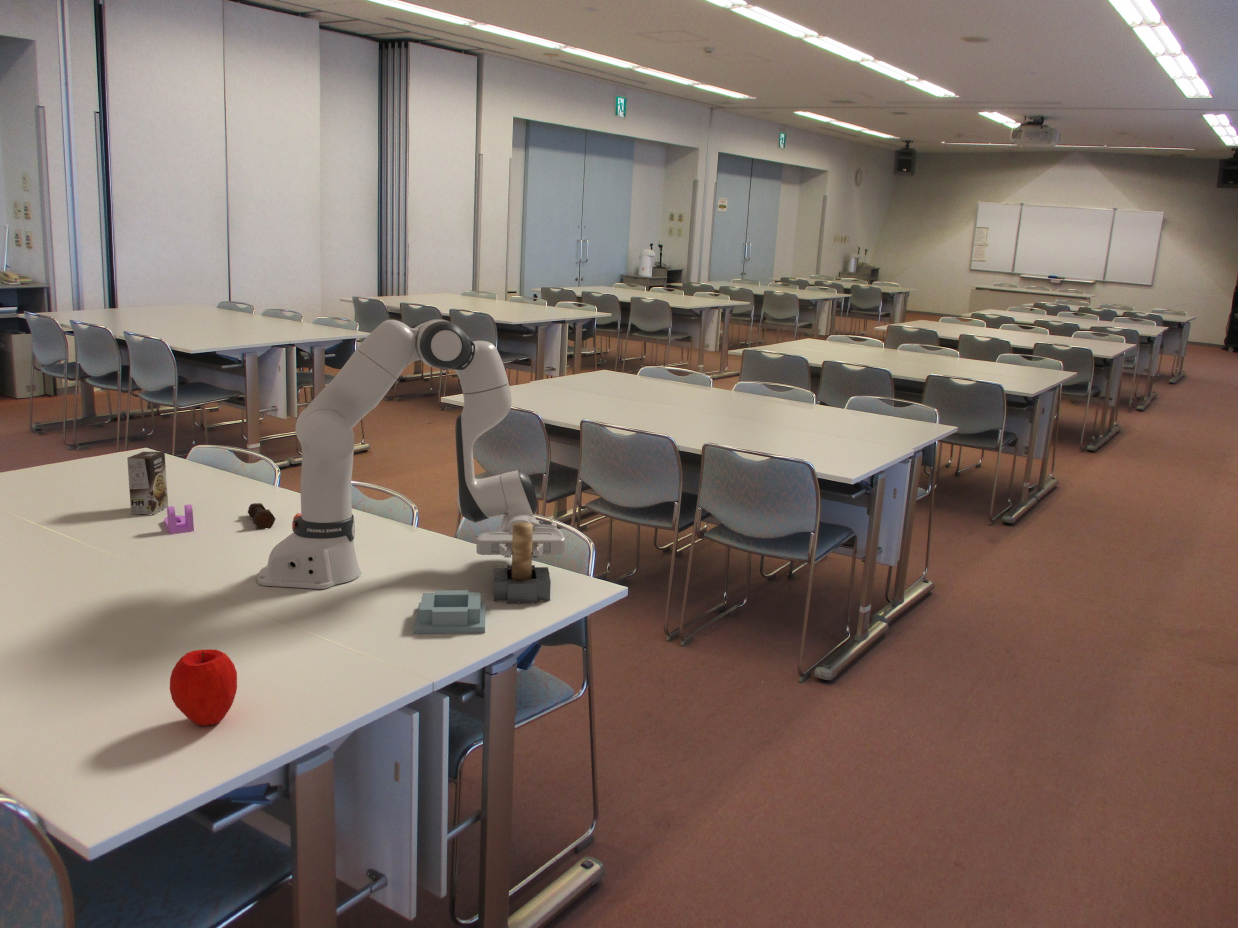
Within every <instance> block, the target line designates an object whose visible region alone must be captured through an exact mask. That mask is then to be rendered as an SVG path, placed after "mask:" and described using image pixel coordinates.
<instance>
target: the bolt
mask: <svg viewBox="0 0 1238 928" xmlns="http://www.w3.org/2000/svg"><path fill="white" fill-rule="evenodd" d="M247 515H249V517H250V518H251V520H252V522H253V524H254V525H255V526H256V528H257V529H258V530H266V529H265V528H269V529H271V528H272V527H273V525H274V524H275V521H276V517H275V516H274V514H273V513H272V512H271V510H270V509H266V507H265V506H264V505H263V504H262V502H261V503H258V502H257V503H256V502H255V503H250V504H249V506H248V510H247Z"/></svg>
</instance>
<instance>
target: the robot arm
mask: <svg viewBox="0 0 1238 928" xmlns="http://www.w3.org/2000/svg"><path fill="white" fill-rule="evenodd" d="M416 361H417V362H418V361H419V362H422V363H423V364H425V365H426V366H429V367H431V368H436V369H439V370H454V372H455V373H456V375H457V377H458V379H459V381H460V386H461V390H462V395H463V407H462V411H461V414H459V415H458V416H457V417H456V420H455V430H454V431H455V451H456V453H455V454H456V463H457V464H456V466H457V481H458V488H457V497H456V498H457V507H458V510H459V513H460V514H461V516H462V517H463V518H464V519H466V520H468V521H470V522H473V523H479V522H482V521H486V520H487V519H490V518H494V517H497V516H499V517H500V516H502V517H501V519H500V520H501V521H500V530H499V531H497V530H496V531H494V530H493V531H491V530H489V531H481V532H480V533H479V534H477V535H476V536H475V537H474V538H475V540H474V541H475V544H476V547H475V548H476V550H475V551H476V554H478V555H481V556H485V555H486V556H488V555H489V556H491V555H493V556H494V555H495V556H496V555H497V556H500V555H501V556H504V558H512V537H513V524H514V523H518V522H526V523H531V524H532V525H533V534H532V558H540V556H541V555H563V554H565V553H566V537H565V535H564V533H563V532H562V530H560V529H559V528H558V526H557V525H558V524H557V523H555V522H550V521H543V520H539V519H536V516H535V514H536V512H537V510H538V507H539V505H538V499H537V494H536V489H535V486H534V483H533V481H532V479H531V477H530V476H529V475H527V473H526V472H523V471H522V470H520V469H517V470H513V471H508V472H504V473H500V474H496V475H493V476H488V477H483V478H476V477H475V464H474V444H475V442H476V441H477V439H479V438H480V437H481V436H482V435H483V434H485V433H487V432H488V431H489V430H491V429H492V428H494V427H496V426H497V425H499V423H501V422H502V421H503V420H504V419H505V418H506V417H507V416H508V414H509V413H510V410H511V408H512V405H513V402H512V393H511V392H512V391H511V387H510V383H509V379H508V375H507V371H506V367H505V365H504V363H503V360H502V358H501V355H500V352H499V351H498V349H497V347H496V346H495V344H493V343H491V342H490V341H487V340H486V341H485V340H475V341H473V340H472V339H471V338H470V337H469V336H468V335H467V334H466V332H465V331H464V330H463V329H462V327H460V326H458V325H457V324H455V323H454V322H451V321H449V320H446V319H441V318H435V319H428V320H424V321H422V322H420V323H417V324H415V325H413V326H408V325H407V324H406V323H404V322H402V321H400V320H396V319H387V320H384V321H382V322H381V323H380V324H379V325H377V327H375V328H373V330H372V331H371V332H370V333H369V334H368V335H367V336H366V338H365V339H364V340H362V342H361V343H360V344H359V346H357V348H356V349H355V351H354V352H353V353H352V354H351V356H350V357H349V358H348V360H347V361H346V362H345V363H344V365H343V367H341V369H340V370H339V372H337V374H336V376H335V377H334V378H333V379H331V381H330V382H329V383H328V384H327V385H325V387H324V388H323V389H322V390H321V391H320V392H319V393H318V394H317V395H316V396H315V397H314V398H313V399H312V400H311V401H310V403H309V404H308V405H306V407H305V408H304V409H302V411H301V412H300V413H299V415H298V417H297V418H296V423H295V426H294V427H295V434H296V438H297V439H298V441H299V443H300V446H301V473H300V474H301V475H300V482H299V483H300V485H299V487H300V489H299V490H300V510H301V511H300V512H301V513H300V512H297V513H295V515H294V516H293V518H292V524H291V528H292V533H291V534H289V535H288V536H286V537H285V538H284V539H283V540H281V541H280V542H279V543H277V544H276V545H275V546H274V547H273V548H272V550H271V551H270V553H269V556H268V561H267V564H266V565H265V566H264V567H262V568H261V569H260V570H259V572H258V574H257V579H256V581H257V583H258V585H260V586H265V587H267V586H268V587H270V586H271V587H281V588H282V587H283V588H297V589H298V588H300V589H301V588H302V589H319V590H322V589H323V590H325V589H328V588H330V587H333V586H335V585H339V584H344V583H348V582H350V581H353V580H356V579H357V578H358V577H360V575H361V572H362V571H361V570H360V567H359V563H358V560H357V554H356V550H355V543H354V539H355V536H356V531H355V530H356V529H355V528H356V527H355V515H354V514H353V513H352V512H353V510H352V509H353V507H352V504H353V503H352V501H353V500H352V478H353V467H354V452H355V450H354V449H355V434H354V429H353V428H354V427H356V425H357V424H359V422H360V421H362V420H363V418H365V417H366V415H367V414H369V413H370V412H372V410H374V409H375V408H376V407H378V405H379V403H380V402H381V401H382V400H383V399H384V397H385V396H386V395H387V394H388V392H389V391H390V389H391V388H392V387H393V385H394V384H396V382H397V380H398V379H399V377H400V376H401V374H402V373H403V372H404V371H405V369H406V368H407V367H409V365H410V364H411V363H414V362H416Z"/></svg>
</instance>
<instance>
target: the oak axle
mask: <svg viewBox="0 0 1238 928" xmlns="http://www.w3.org/2000/svg"><path fill="white" fill-rule="evenodd" d="M532 534H533V525H532V524H531V523H526V522H518V523H514V524H513V537H512V555H511V565H512V579H531V574H532V565H533V556H532Z"/></svg>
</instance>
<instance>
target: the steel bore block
mask: <svg viewBox="0 0 1238 928" xmlns="http://www.w3.org/2000/svg"><path fill="white" fill-rule="evenodd" d="M492 577H493V578H492V579H493V581H492V582H493V584H492V585H493V588H492V589H493V594H492V597H493V598H494V599H493V602H506V603H507V604H510V605H511V604H512V605H513V604H537V603H538V601H537V600H550V601H551V585H552V584H551V581H552V580H551V577H550V570H549V567H547V566H545V567H544V566H543V567H541V566H540V567H539V566H536V565H535V564H532V574H531V579H512V564H510V565H506V567H493V576H492Z"/></svg>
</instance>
